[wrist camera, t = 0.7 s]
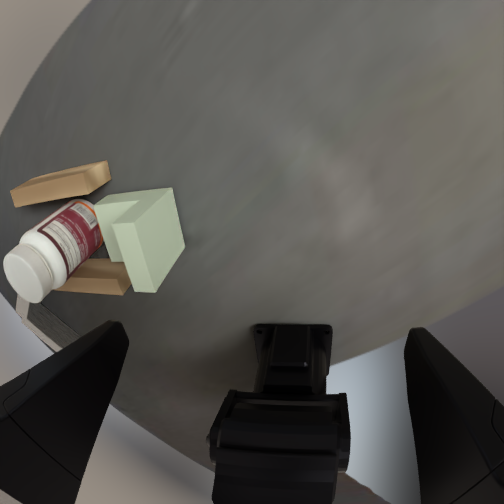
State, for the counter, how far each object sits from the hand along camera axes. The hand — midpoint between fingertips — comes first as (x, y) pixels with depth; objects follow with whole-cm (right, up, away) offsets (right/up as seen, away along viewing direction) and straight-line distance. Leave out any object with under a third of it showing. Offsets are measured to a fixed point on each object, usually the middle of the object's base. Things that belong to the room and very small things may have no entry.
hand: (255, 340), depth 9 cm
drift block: (-8, +5, +13) cm, 16 cm away
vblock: (-24, -3, +22) cm, 32 cm away
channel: (-15, +5, +15) cm, 21 cm away
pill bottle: (-14, +5, +15) cm, 21 cm away
